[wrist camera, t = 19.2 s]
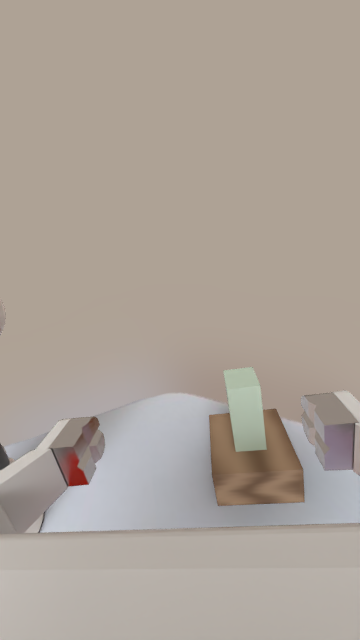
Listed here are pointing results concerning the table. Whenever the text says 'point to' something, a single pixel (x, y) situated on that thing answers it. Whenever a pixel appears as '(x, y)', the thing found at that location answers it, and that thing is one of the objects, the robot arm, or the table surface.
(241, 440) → the sage block
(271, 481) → the walnut block
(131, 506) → the table surface
